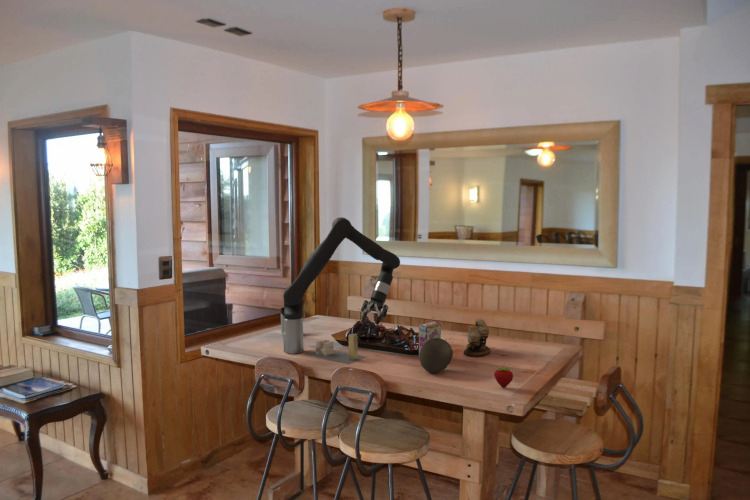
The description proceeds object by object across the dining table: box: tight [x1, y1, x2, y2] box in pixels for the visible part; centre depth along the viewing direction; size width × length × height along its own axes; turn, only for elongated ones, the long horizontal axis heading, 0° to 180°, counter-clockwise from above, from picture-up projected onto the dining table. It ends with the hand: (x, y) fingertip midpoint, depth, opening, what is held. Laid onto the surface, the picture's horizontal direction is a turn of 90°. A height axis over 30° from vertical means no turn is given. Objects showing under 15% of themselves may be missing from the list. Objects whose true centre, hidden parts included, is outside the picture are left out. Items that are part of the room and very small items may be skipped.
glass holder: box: [280, 307, 306, 337], centre depth 321 cm, size 9×14×15 cm, turn 107°
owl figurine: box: [463, 318, 491, 358], centre depth 277 cm, size 18×12×17 cm, turn 150°
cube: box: [315, 339, 335, 356], centre depth 277 cm, size 6×6×6 cm
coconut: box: [418, 337, 454, 374], centre depth 247 cm, size 14×14×15 cm
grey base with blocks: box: [305, 333, 368, 365], centre depth 273 cm, size 28×14×12 cm, turn 53°
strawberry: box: [493, 364, 514, 389], centre depth 225 cm, size 6×8×10 cm
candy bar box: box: [418, 321, 442, 360], centre depth 270 cm, size 11×5×16 cm, turn 134°
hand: (369, 322), depth 279 cm, fingers open, 8 cm apart
